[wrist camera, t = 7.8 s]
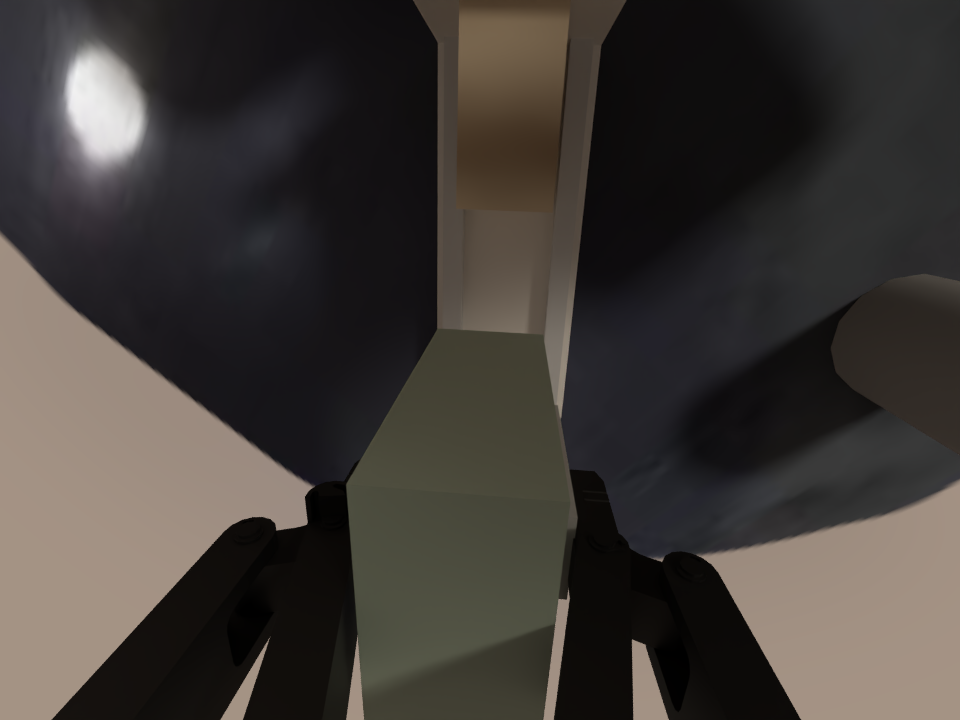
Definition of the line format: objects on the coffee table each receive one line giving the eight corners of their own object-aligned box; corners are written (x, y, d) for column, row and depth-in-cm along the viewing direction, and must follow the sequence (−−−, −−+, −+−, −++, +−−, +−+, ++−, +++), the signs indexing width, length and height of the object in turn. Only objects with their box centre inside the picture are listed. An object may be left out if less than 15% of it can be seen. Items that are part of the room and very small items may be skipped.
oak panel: (482, 49, 26) (459, -28, 16) (554, 50, 26) (573, -27, 16) (477, 201, 29) (456, 208, 19) (542, 203, 28) (552, 212, 19)
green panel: (437, 328, 18) (346, 484, 8) (543, 334, 17) (570, 502, 8) (436, 502, 20) (367, 765, 11) (527, 509, 20) (534, 785, 11)
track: (441, 23, 26) (371, -116, 14) (601, 25, 26) (671, -118, 14) (439, 403, 35) (395, 518, 23) (560, 411, 34) (580, 535, 22)
